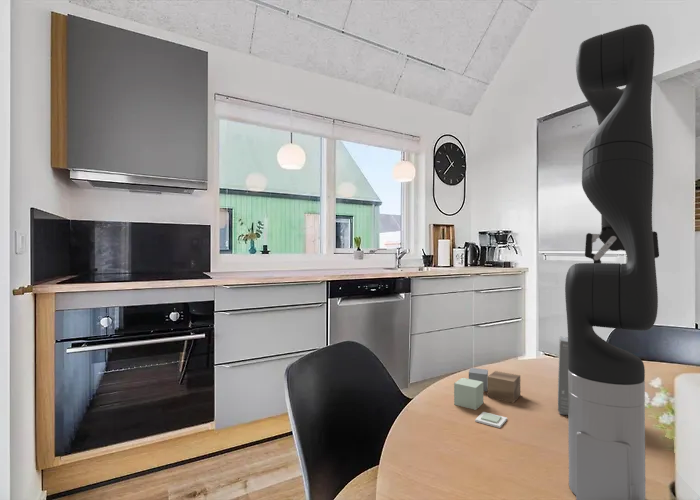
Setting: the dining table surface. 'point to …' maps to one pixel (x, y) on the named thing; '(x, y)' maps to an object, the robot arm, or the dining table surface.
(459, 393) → the sage block
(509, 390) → the walnut block
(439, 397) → the dining table surface
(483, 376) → the slate block
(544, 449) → the dining table surface
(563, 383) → the skincare box
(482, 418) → the tile
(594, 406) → the robot arm
